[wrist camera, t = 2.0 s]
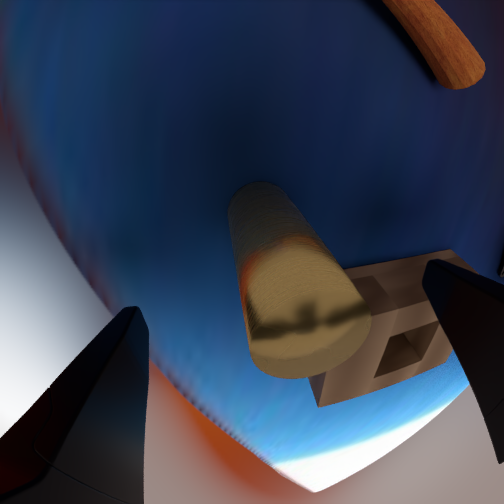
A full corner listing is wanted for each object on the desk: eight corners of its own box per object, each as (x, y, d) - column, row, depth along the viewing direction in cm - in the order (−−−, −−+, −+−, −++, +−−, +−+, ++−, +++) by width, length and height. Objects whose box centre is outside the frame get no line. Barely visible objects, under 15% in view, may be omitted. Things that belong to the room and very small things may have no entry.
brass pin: (289, 178, 12) (382, 279, 6) (291, 236, 14) (359, 364, 7) (223, 185, 12) (243, 303, 5) (231, 244, 14) (255, 386, 7)
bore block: (450, 249, 16) (485, 280, 13) (422, 329, 20) (445, 362, 17) (309, 275, 15) (334, 324, 12) (303, 363, 19) (318, 407, 16)
